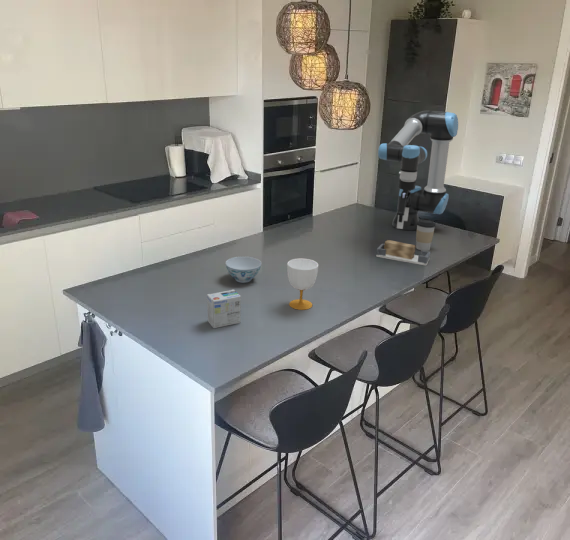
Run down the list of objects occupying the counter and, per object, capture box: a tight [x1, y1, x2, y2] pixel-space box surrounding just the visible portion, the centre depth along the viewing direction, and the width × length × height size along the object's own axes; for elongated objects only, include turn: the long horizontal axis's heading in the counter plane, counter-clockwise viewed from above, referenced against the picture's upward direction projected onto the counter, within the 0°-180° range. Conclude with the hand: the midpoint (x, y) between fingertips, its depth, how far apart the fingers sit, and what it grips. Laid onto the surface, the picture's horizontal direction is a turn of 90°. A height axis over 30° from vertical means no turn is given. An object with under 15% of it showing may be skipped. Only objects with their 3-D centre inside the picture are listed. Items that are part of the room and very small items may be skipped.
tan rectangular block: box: [384, 239, 416, 260], centre depth 259 cm, size 14×4×6 cm, turn 61°
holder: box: [375, 243, 432, 266], centre depth 259 cm, size 9×24×4 cm, turn 66°
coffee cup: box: [415, 217, 436, 252], centre depth 271 cm, size 9×9×15 cm
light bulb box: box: [206, 289, 242, 329], centre depth 191 cm, size 11×7×11 cm, turn 118°
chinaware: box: [225, 256, 262, 284], centre depth 227 cm, size 15×15×8 cm
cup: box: [286, 258, 319, 311], centre depth 205 cm, size 12×12×17 cm
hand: (402, 224), depth 254 cm, fingers open, 13 cm apart
